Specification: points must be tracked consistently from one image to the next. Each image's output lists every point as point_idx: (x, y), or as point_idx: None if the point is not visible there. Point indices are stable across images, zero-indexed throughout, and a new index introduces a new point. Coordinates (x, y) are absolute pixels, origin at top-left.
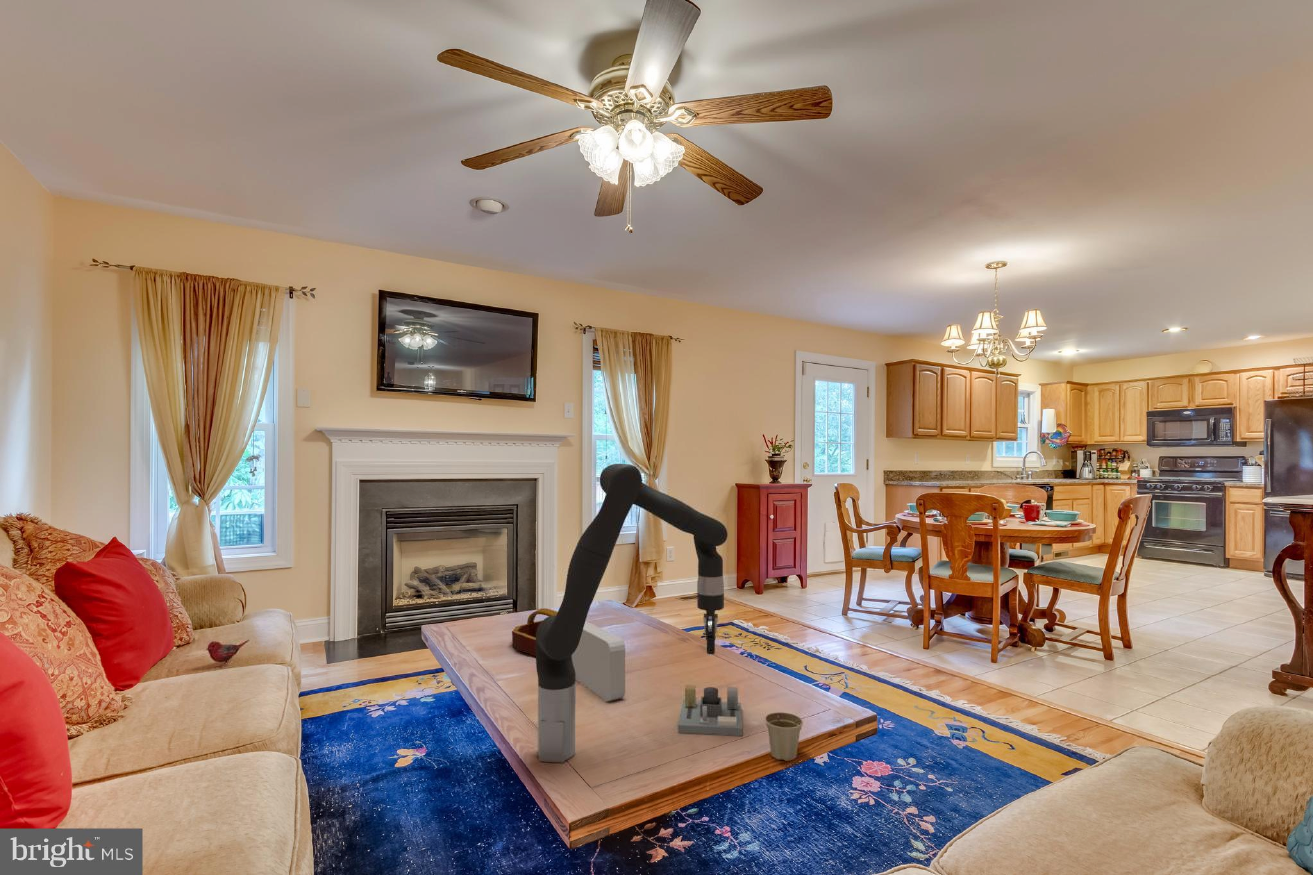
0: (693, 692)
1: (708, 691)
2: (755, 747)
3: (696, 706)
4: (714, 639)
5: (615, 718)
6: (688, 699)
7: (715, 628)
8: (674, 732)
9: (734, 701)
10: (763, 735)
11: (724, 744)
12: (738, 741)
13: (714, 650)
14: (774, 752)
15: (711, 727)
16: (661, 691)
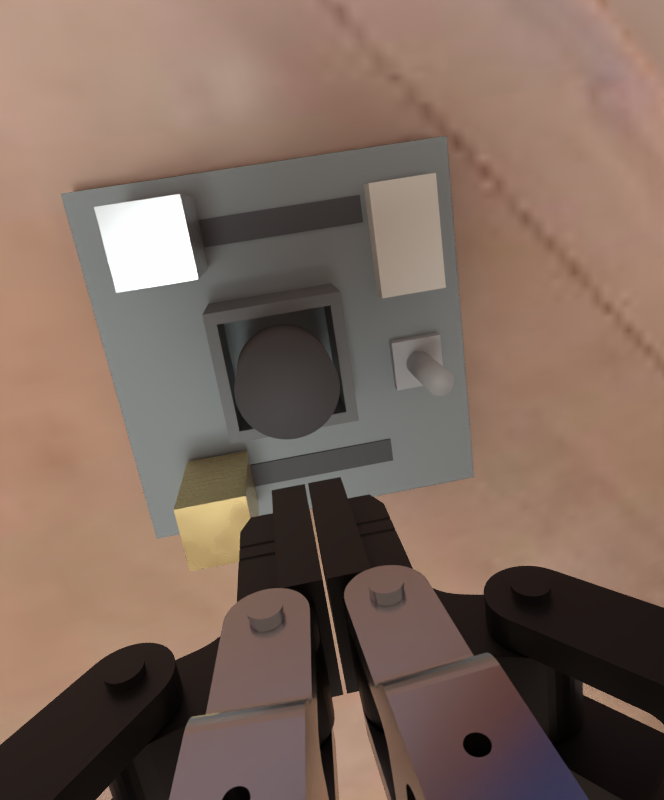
0: (248, 497)
1: (323, 400)
2: (548, 50)
3: (224, 448)
4: (568, 579)
5: None
6: (255, 504)
7: (547, 760)
8: None
9: (193, 221)
10: (398, 11)
11: (540, 224)
12: (497, 155)
13: (344, 494)
14: None
15: (459, 313)
16: (5, 670)
